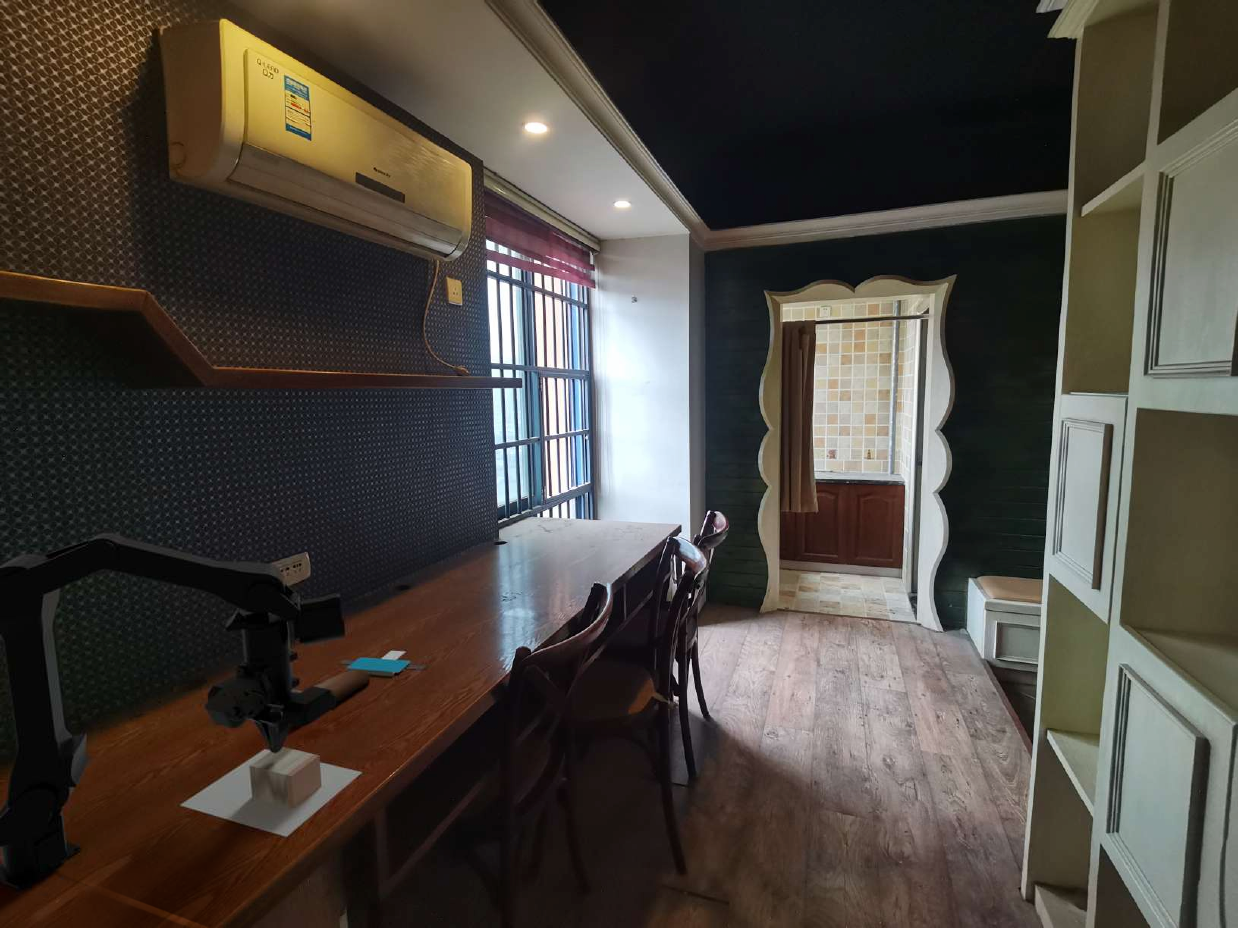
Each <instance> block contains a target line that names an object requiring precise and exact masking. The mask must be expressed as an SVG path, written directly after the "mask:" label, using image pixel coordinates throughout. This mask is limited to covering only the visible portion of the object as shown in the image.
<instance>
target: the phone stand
mask: <svg viewBox="0 0 1238 928" xmlns="http://www.w3.org/2000/svg"><path fill="white" fill-rule="evenodd" d="M405 653H406V651H402V650H400V651H399V650H390V651H388V653H386V654H385V655H384V656H383V657H380V658H375V657H373V658H372V657H359V658H358V659H357V660H346V659H342V660H341V661H340V662H339V664H342V665H343V664H344V665H349V666H347V668H346V672H349V671H353V670H357V669H363V670H365V671H366V672H367V673H368V674H369V676H381V677H394V675H395V673H396V674H397V675H398V674H399V673H400V672H404V671H405V670H421V671H422V670H424V669H425V668H426V666H425V665H416V664H410V663H411V660H401V659H400V660H399V658H400V657H402V656H404V654H405Z"/></svg>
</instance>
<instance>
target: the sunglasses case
mask: <svg viewBox="0 0 1238 928" xmlns="http://www.w3.org/2000/svg"><path fill="white" fill-rule="evenodd" d="M370 683H371V678H370V675H369V674H368V673H367V672H366V671H365V670H363V669H357V670H353V671H349V672H347V671H345V672H342V673H339V674H337V675H334V676H332V677H330V678H328V679H326V680H325V681H323V682H320V683H317V684H316V685H313V686H314V687H320V688H325V689H330V690H332V691H334V692H335V699H336V703H338V702H339V701H341V700H342V699H344V698H345V697H347V696H349V695H351V694H352V693H353V692H355V691H357V690H359V689H360V688H362V687H363V686H365V685H368V684H370ZM291 728H295V730H297V729H300V728H302V726H297V725H291Z"/></svg>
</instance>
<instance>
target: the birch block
mask: <svg viewBox="0 0 1238 928" xmlns="http://www.w3.org/2000/svg"><path fill="white" fill-rule="evenodd" d="M320 759H321V758H320V755H319V754H313V753H310V752H306V751H303V750H297V749H294V748H289V747H285V746H283V747H282V749H281V750H280V751H279V752H277V753H272V752H271V751H270V752H269V753H267V754H266V755H264V756H263V757H261V758H260V759H258V760H257V761H255V762H254V763H252V764H251V765H249V769H250V779H251V790H252V797H254V798H258V799H262V800H265V801H269V802H273V803H276V804H280V805H283V806H287V807H291V808H295V807H297V806H298V805H299V804H300V803H302V802H303V801H304V800H305V799H307V798H308V797H309V796H310V795H311V794H313V793H314V792H315V791H316V790H318V789H319V788H320V787H321V786H322V783H321V770H320V762H321V760H320Z"/></svg>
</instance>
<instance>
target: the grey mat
mask: <svg viewBox="0 0 1238 928" xmlns="http://www.w3.org/2000/svg"><path fill="white" fill-rule="evenodd" d="M269 752H270V749H266V748H264V749H263V750H261V751H260V752H258V753H257V754H255V755H254V756H252V757H251V758H249V759H248V760H246V761H245V762H243V763H242V764H240V765H239V766H237V767H236V768H234V769H233V770H231V771H229V772H228V773H226V774H225V775H224V776H222V777H220V778H219V779H217V780H216V781H215V782H213V783H211V784H210V785H208V786H207V787H205V788H204V789H202V790H201V791H199V792H198V793H196V794H195V795H194V796H191V797H190V798H188V799H187V800H186V801H184V802H183V803H181V804H179V806H180V807H183V808H188V809H189V810H194V811H196V812H197V811H198V812H201V813H203V814H208V815H210V816H215V817H217V818H221V819H224V820H227V821H232V822H235V823H237V824H241V825H245V826H248V827H252V828H256V829H258V830H262V831H265V832H269V833H272V834H276V835H279V836H282V837H286V838H287V837H288V836H289V835H291V834H292V833H293V832H294V831H296V830H297V829H298V828H299V827H300V826H301V825H303V824H304V823H305V822H306V821H307V820H309V819H310V818H311V817H312V816H313V815H314V814H316V813H317V812H318V811H319V810H320V809H321V808H322V807H324V806H325V805H326V804H327V803H329V801H331V800H332V799H333V798H334V797H335V796H337V795H338V794H339V793H340V792H341V791H342V790H343V789H344V788H345V789H346V787H347V786H348V785H350V784H351V783H352V782H353V781H354V780H355V779H356V778H357V777H359V776H360V775H361V774H363V772H362V771H359V770H355V769H350V768H346V767H341V766H337V765H333V764H329V763H324V762H321V761H320V770H321V783H322V786H321V787H320V788H319V789H318V790H316V791H315V792H314V793H313V794H311V795H310V796H309V797H308V798H307V799H305V800H304V801H303V802H302V803H300V804H299V805H298V806H297V807H295V808H291V807H287V806H283V805H280V804H276V803H273V802H269V801H265V800H262V799H258V798H254V797H252V790H251V779H250V769H249V765H251V764H252V763H254V762H255V761H257V760H258V759H260V758H261V757H263V756H264V755H266V754H267V753H269Z"/></svg>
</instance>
